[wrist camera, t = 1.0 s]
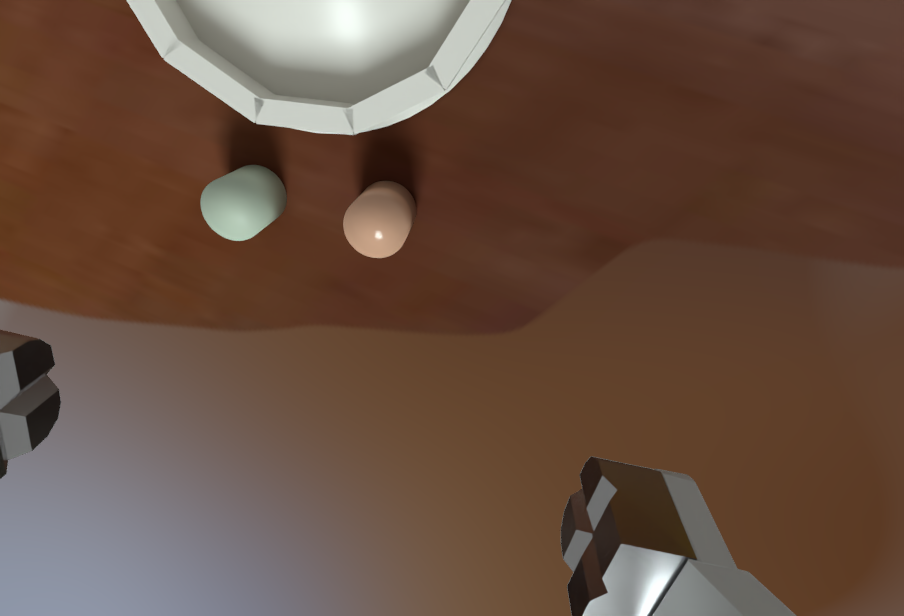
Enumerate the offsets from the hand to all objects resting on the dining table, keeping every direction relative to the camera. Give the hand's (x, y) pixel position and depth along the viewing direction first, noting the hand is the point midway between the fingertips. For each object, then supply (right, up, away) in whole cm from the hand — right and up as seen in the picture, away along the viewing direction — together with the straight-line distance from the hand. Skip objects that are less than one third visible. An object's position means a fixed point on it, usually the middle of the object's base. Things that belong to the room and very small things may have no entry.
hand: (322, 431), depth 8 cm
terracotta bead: (-3, +9, +32) cm, 33 cm away
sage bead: (-13, +11, +32) cm, 36 cm away
